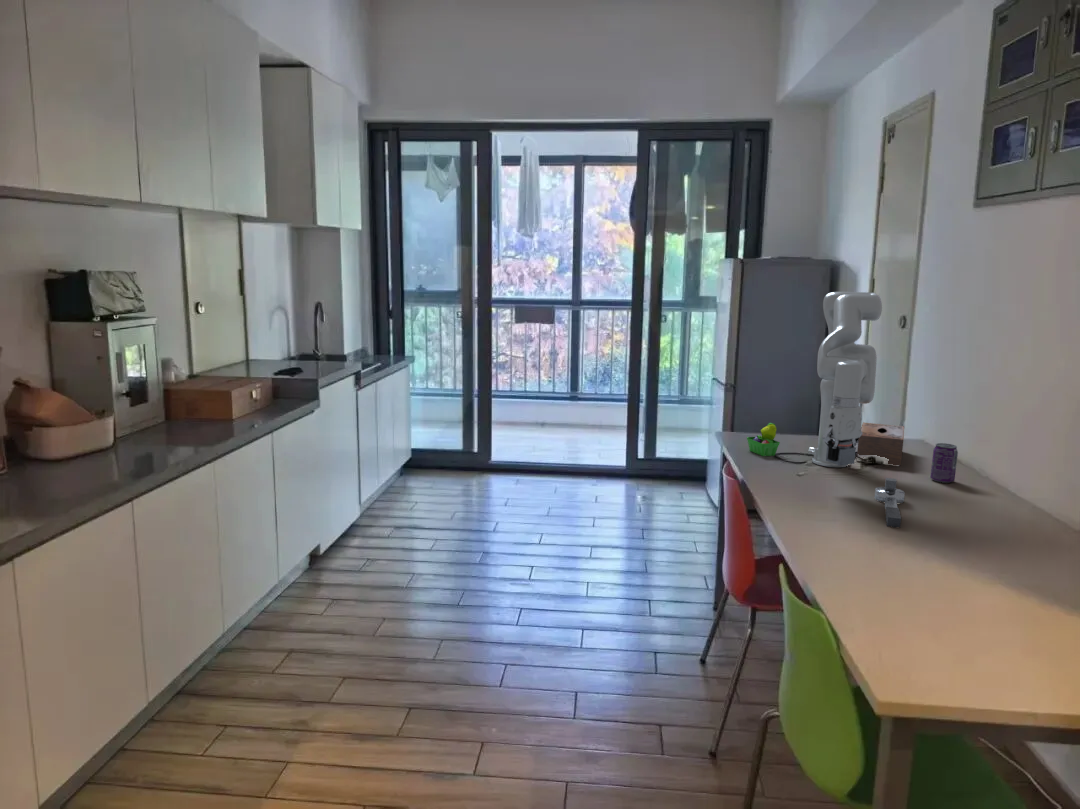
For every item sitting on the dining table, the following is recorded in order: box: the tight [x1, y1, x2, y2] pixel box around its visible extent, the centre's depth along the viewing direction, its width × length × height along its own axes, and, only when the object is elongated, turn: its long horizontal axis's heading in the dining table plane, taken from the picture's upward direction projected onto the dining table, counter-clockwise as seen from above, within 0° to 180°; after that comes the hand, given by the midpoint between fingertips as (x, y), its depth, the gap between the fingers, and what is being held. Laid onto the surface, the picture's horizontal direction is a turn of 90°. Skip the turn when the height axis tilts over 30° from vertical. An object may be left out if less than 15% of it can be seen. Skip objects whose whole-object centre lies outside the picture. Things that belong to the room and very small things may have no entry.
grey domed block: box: [826, 439, 857, 466], centre depth 237 cm, size 6×6×7 cm
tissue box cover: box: [856, 421, 905, 466], centre depth 284 cm, size 26×14×10 cm, turn 155°
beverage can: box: [930, 442, 959, 484], centre depth 252 cm, size 7×7×12 cm
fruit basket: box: [746, 422, 781, 457], centre depth 285 cm, size 11×9×11 cm
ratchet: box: [874, 477, 906, 528], centre depth 220 cm, size 30×8×6 cm, turn 158°
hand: (840, 458), depth 238 cm, fingers closed on grey domed block, 5 cm apart
